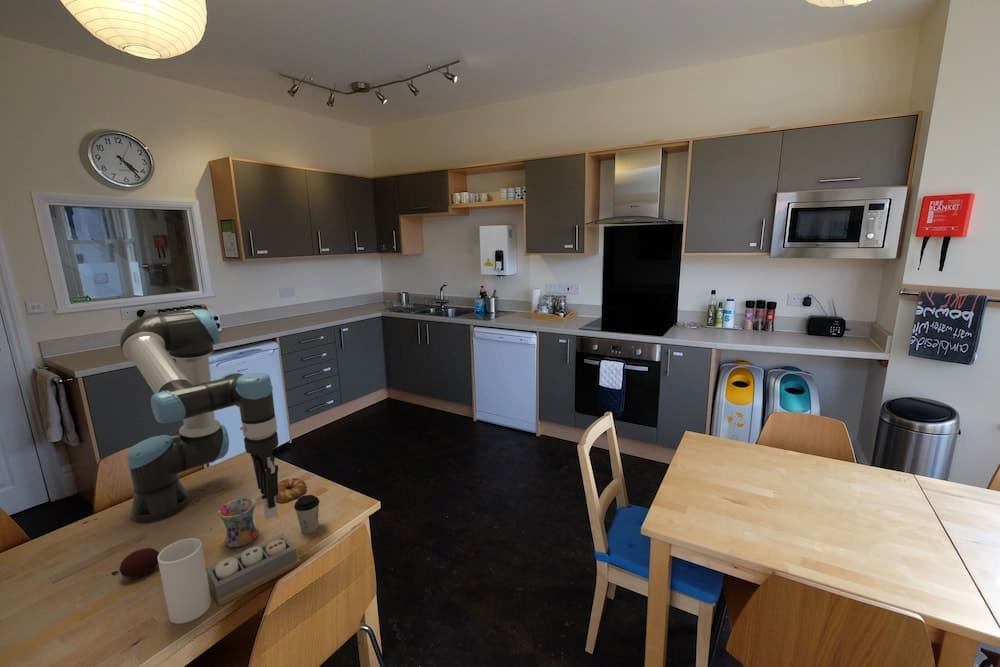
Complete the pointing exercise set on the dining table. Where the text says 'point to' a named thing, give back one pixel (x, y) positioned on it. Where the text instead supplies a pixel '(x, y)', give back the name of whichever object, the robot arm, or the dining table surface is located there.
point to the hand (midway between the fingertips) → (271, 516)
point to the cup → (184, 580)
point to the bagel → (290, 490)
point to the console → (253, 572)
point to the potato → (139, 562)
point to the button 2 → (251, 556)
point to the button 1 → (226, 568)
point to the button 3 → (275, 547)
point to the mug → (239, 521)
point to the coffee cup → (307, 513)
